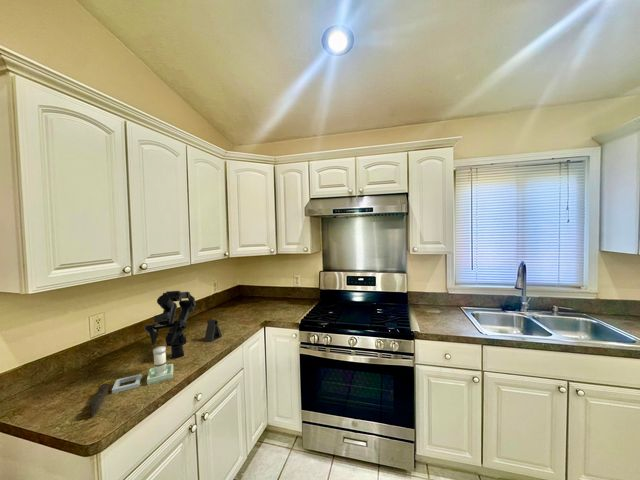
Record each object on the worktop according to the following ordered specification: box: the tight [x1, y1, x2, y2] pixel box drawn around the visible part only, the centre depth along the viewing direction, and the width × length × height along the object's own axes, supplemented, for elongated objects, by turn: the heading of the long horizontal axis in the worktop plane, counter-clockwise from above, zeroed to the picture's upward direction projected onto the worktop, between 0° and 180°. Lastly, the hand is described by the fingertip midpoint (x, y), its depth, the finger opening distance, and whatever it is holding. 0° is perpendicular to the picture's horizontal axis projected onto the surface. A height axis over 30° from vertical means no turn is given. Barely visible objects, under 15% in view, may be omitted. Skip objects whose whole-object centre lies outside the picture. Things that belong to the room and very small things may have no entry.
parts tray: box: [146, 363, 174, 386], centre depth 129 cm, size 11×10×2 cm
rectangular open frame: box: [111, 373, 143, 394], centre depth 123 cm, size 10×10×2 cm
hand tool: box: [89, 383, 111, 418], centre depth 109 cm, size 19×4×5 cm, turn 24°
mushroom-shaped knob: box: [152, 345, 167, 377], centre depth 129 cm, size 5×5×12 cm
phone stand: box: [204, 318, 223, 342], centre depth 173 cm, size 9×6×12 cm, turn 153°
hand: (162, 343), depth 133 cm, fingers open, 9 cm apart
